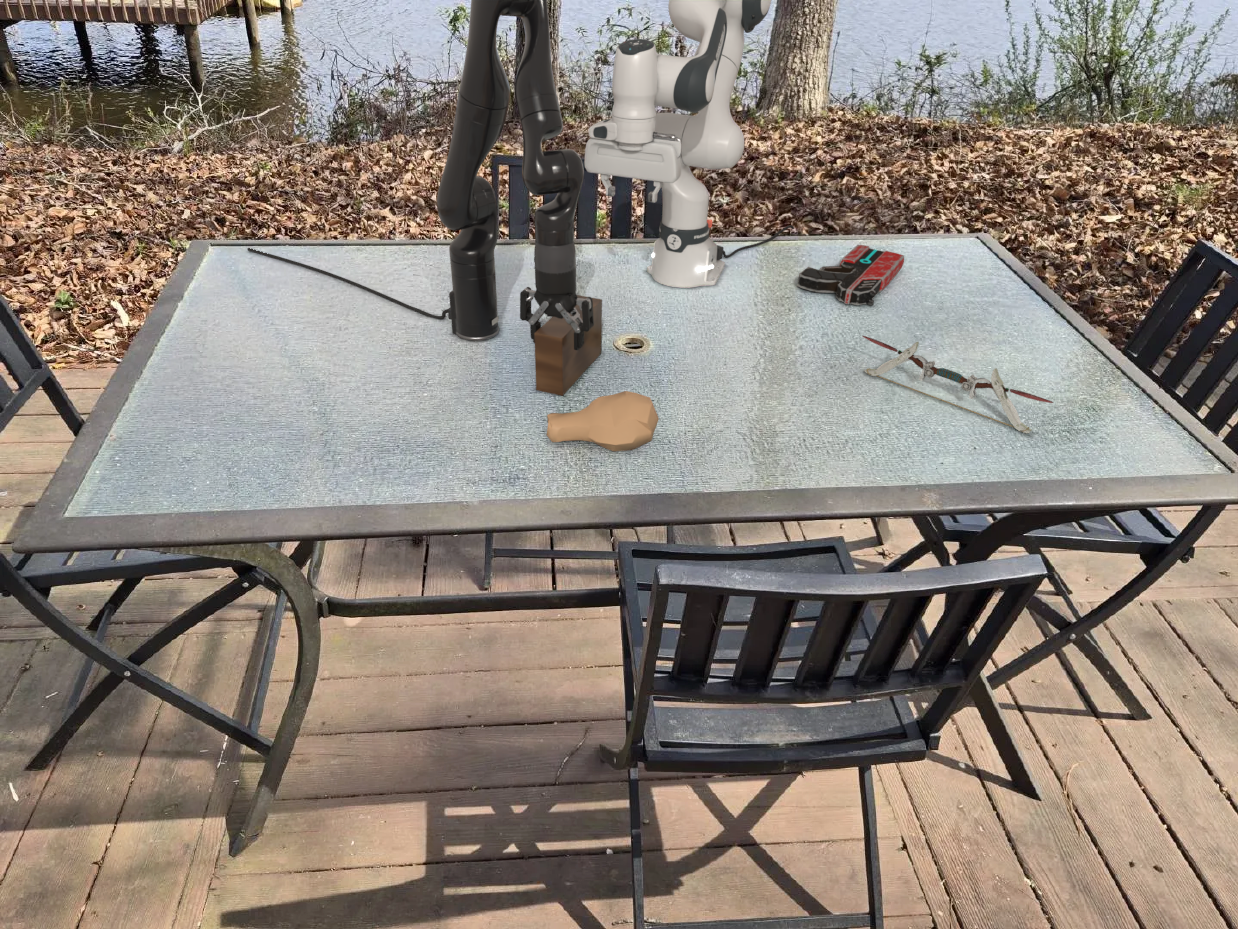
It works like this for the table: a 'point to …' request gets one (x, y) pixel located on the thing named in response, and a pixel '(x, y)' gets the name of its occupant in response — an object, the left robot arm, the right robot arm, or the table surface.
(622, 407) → the squash
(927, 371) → the bow
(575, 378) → the box
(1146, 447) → the table surface
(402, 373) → the table surface
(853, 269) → the gun
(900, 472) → the table surface
